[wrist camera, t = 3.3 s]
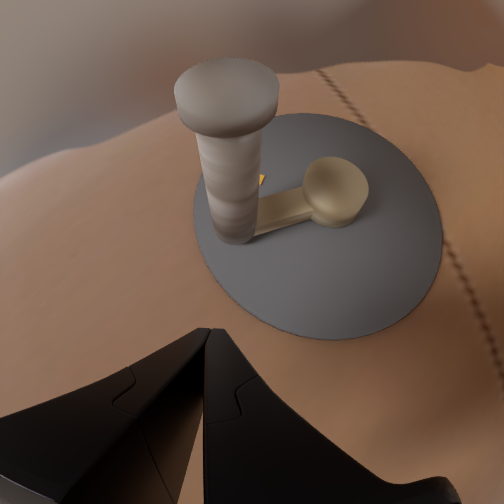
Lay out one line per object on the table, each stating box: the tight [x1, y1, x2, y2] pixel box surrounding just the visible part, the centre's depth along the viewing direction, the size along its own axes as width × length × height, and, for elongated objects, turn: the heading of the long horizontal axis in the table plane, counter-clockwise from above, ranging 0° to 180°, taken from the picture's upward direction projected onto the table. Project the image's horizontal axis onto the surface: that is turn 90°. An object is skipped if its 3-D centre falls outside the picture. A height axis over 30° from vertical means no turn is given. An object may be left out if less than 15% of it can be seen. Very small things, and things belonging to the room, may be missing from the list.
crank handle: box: [174, 58, 369, 245], centre depth 18 cm, size 13×5×13 cm, turn 109°
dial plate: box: [193, 113, 442, 340], centre depth 26 cm, size 22×22×1 cm
